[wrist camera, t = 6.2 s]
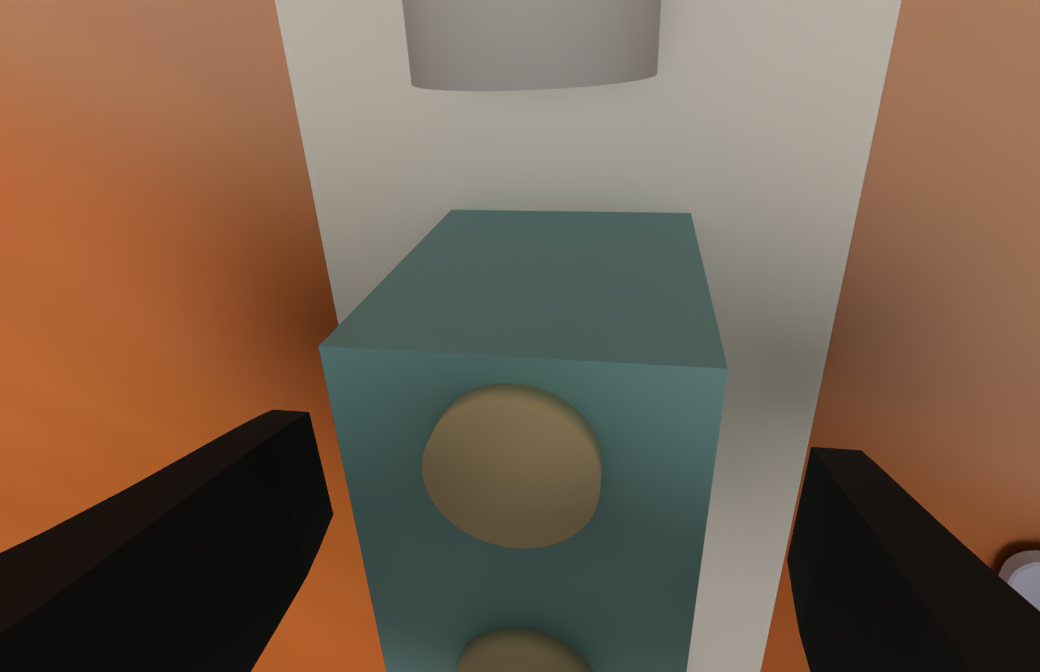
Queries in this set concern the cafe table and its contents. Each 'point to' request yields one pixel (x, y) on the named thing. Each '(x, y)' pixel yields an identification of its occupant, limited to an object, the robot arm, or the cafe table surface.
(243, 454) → the robot arm
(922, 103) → the cafe table surface
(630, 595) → the teal block
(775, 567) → the shaft stand
